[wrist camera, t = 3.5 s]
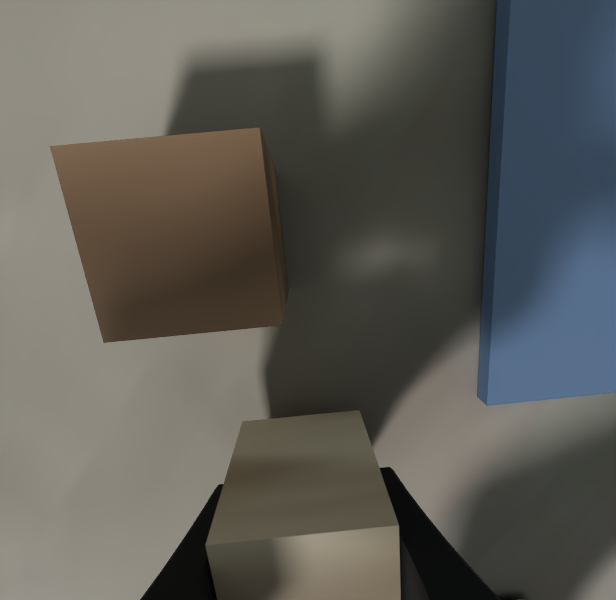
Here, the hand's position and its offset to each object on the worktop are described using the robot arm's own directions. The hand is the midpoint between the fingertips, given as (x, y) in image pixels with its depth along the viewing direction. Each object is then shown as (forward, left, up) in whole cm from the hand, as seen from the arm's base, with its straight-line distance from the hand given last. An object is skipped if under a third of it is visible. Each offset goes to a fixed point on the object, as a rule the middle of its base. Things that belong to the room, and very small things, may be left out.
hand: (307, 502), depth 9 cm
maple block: (0, 0, -2) cm, 2 cm away
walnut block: (+8, +2, -3) cm, 9 cm away
